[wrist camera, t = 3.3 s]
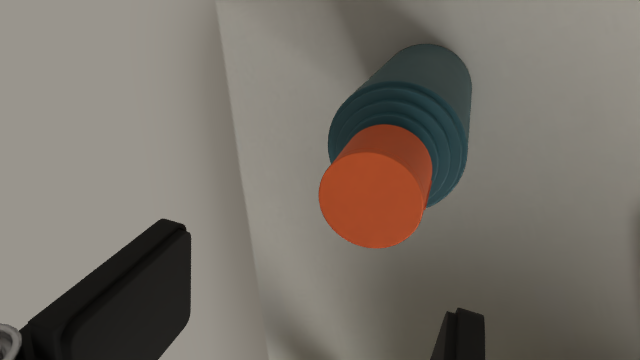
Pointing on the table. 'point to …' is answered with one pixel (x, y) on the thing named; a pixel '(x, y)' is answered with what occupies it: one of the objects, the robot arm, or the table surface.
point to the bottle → (415, 110)
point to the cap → (377, 187)
